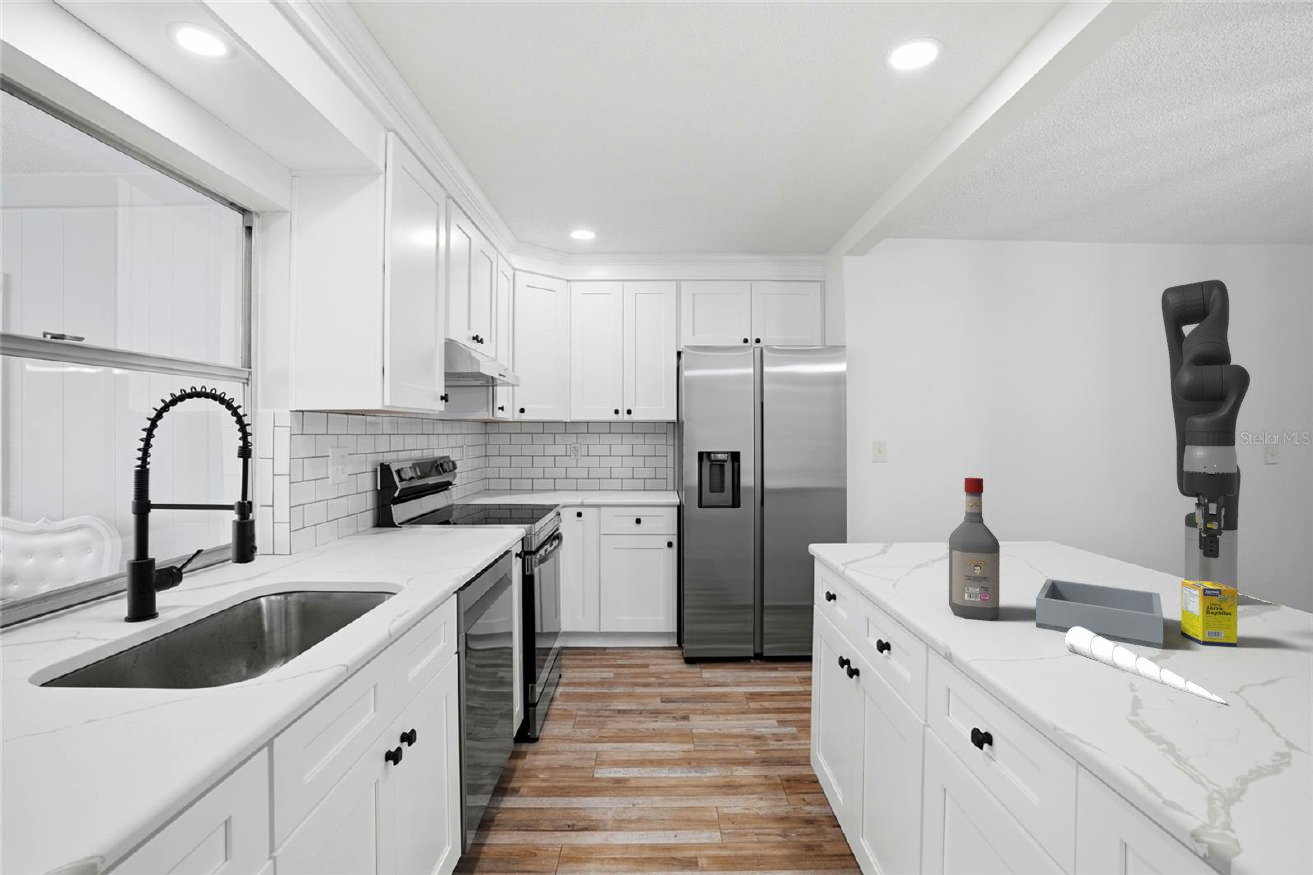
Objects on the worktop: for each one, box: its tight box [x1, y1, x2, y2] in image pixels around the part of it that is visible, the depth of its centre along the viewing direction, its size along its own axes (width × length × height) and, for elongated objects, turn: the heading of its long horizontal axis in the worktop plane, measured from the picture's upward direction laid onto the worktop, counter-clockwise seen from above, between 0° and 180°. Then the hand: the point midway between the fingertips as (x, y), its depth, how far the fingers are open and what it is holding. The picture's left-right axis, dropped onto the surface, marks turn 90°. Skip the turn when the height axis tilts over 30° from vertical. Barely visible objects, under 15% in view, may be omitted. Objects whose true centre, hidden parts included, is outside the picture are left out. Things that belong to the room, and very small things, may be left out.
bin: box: [1035, 578, 1164, 650], centre depth 125 cm, size 20×20×6 cm
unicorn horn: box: [1064, 626, 1228, 705], centre depth 100 cm, size 5×24×5 cm, turn 14°
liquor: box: [948, 477, 1001, 621], centre depth 132 cm, size 9×9×30 cm
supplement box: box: [1180, 579, 1238, 648], centre depth 115 cm, size 6×6×11 cm
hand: (1208, 553), depth 115 cm, fingers open, 8 cm apart
